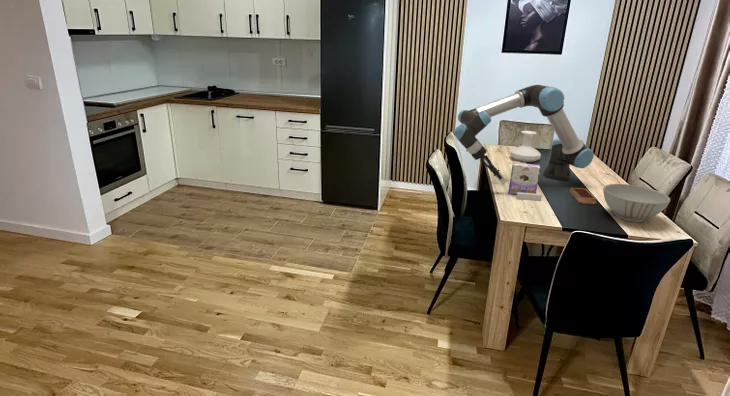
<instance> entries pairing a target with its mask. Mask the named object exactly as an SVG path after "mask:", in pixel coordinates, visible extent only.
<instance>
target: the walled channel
mask: <svg viewBox="0 0 730 396" xmlns="http://www.w3.org/2000/svg"><path fill="white" fill-rule="evenodd" d="M515 196H516V197H515V199H516V200H525V201H542V197H543V194H541V193H536V194H535V193H520V192H517V195H515Z"/></svg>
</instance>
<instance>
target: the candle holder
mask: <svg viewBox="0 0 730 396" xmlns="http://www.w3.org/2000/svg"><path fill="white" fill-rule="evenodd" d="M520 132H521V134H522V135H523V141H522V145H520V146H516V147H514V148H512V149H511V150H510V153H509V155H510V156H511V158H512V159H514V160H516V161H520V162H522V161H523V162H525V163H531V162H532V163H533V162H536V161H538V160H540V159H541V157H542V154H541V152H539V150H537V149H536V148H534V147H533V146H532V142H533V136H535V135H538V133H537V132H536V131H534V130H521V131H520Z"/></svg>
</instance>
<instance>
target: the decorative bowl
mask: <svg viewBox="0 0 730 396" xmlns="http://www.w3.org/2000/svg"><path fill="white" fill-rule="evenodd" d="M602 191H603V197H604V200H605V203H606V205H607V206H608V208H609V209H610V210H611V211H612V212H613V213H614V216H616V217H617V218H618V217H619V218H618V219H621V220H623V219H624V220H625V221H627V222H632V221H633V223H642V222H643V223H644V222H645V220H647V219H652V218H654V217H655V216H657V215H659V214H660V213H662V212H663V211H664V210H665V209H666V208H667V207H668V205H669V203H670V202H671V198H670V197H669V196H668V195H666V193H663V192H660V191H658V190H655V189H652V188H649V187H645V186H641V185H640V186H639V185H634V184H629V183H627V184H626V183H612V184H611V183H610V184H606V185H604V186H603V190H602Z"/></svg>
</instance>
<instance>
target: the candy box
mask: <svg viewBox="0 0 730 396" xmlns="http://www.w3.org/2000/svg"><path fill="white" fill-rule="evenodd" d="M540 172H541V165H540V164H533V163H532V164H529V163H521V162H512V166H511V172H510V179H509V183H508V184H509V185H508V189H507V190H508V191H507V194H508V195H512V196H517V192H520V193H535V194H537V192H538V191H537V189H538V185H539V179H540V174H541V173H540Z"/></svg>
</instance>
